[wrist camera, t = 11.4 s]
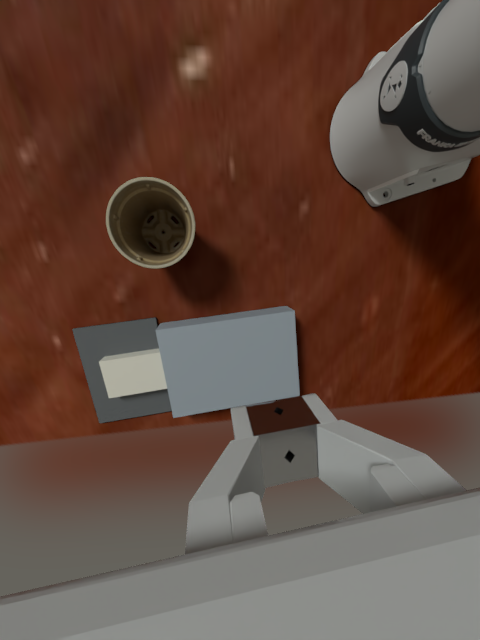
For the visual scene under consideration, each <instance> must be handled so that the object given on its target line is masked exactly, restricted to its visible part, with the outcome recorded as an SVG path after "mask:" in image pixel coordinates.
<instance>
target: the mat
mask: <svg viewBox="0 0 480 640" xmlns="http://www.w3.org/2000/svg"><path fill="white" fill-rule="evenodd" d="M157 327H158V325H157V320H156V318H148V319H141V320H134V321H126V322H119V323H112V324H104V325H97V326H89V327H82V328H75V329H72V330H73V333H74V337H75V340H76V344H77V347H78V351H79V354H80V358H81V361H82V365H83V368H84V371H85V375H86V378H87V382H88V385H89V389H90V392H91V396H92V399H93V402H94V406H95V409H96V413H97V416H98V420H99V423H104V422H110V421H116V420H122V419H128V418H133V417H139V416H145V415H151V414H157V413H162V412H168V411H172V409H171V404H170V399H169V394H168V389H162V390H156V391H150V392H144V393H138V394H132V395H126V396H120V397H114V398H109V397H108V393H107V390H106V386H105V383H104V379H103V375H102V372H101V368H100V365H99V361H100V360H101V359H102V358H103V357H105V356H112V355H119V354H125V353H132V352H138V351H145V350H151V349H158V348H159V345H158V341H157V336H156V331H155V330H156V329H157Z"/></svg>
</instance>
